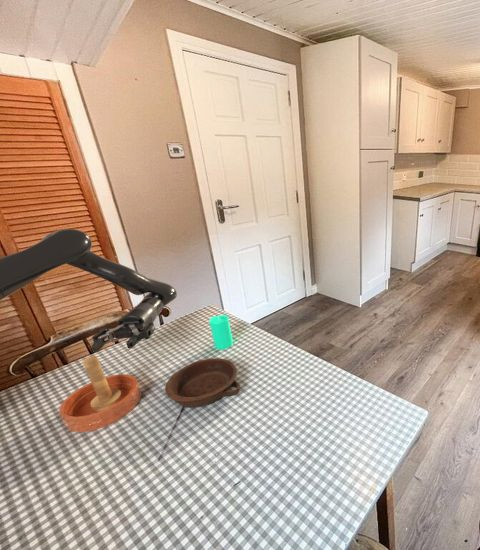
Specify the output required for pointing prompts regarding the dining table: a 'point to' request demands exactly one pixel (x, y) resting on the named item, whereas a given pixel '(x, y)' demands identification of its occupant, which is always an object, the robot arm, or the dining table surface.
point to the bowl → (84, 419)
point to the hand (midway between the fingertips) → (111, 347)
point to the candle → (221, 331)
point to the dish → (203, 382)
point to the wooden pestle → (100, 386)
